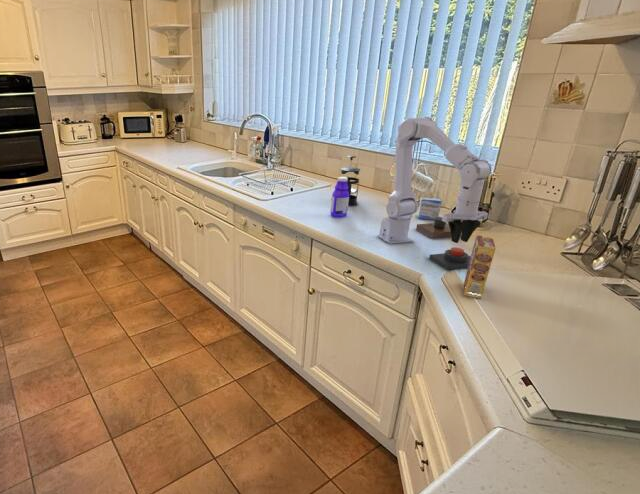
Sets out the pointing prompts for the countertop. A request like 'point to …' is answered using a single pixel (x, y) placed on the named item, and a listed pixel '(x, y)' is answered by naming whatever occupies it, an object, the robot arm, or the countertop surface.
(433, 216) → the medicine box
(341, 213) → the bottle
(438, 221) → the dimmer knob
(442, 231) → the panel
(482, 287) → the candy box
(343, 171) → the french press
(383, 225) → the robot arm
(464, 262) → the switch block
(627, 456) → the countertop surface
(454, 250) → the switch button
